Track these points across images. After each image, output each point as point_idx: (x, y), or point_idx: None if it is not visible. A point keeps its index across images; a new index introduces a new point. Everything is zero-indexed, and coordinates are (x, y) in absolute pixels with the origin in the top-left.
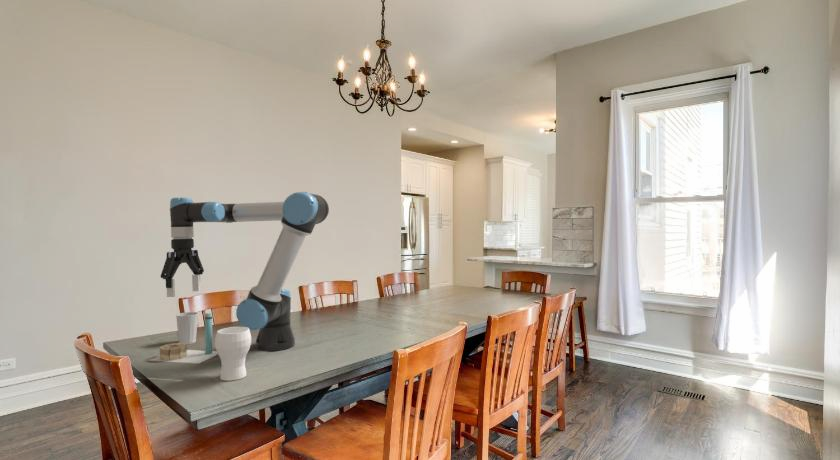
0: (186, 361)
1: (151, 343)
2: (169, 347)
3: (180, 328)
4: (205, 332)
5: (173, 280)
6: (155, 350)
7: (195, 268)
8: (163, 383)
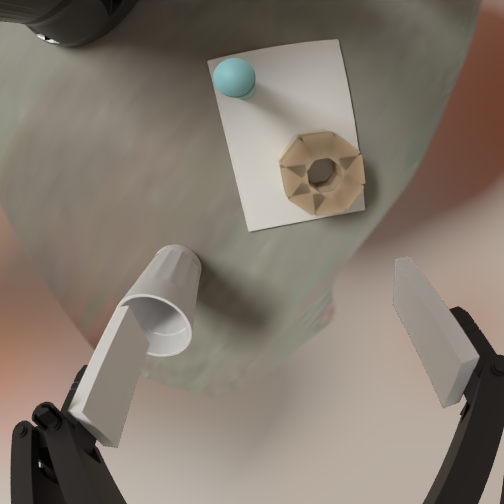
0: (338, 88)
1: (227, 344)
2: (341, 173)
3: (194, 296)
4: (254, 87)
5: (467, 347)
6: (273, 283)
7: (90, 481)
8: (463, 34)
